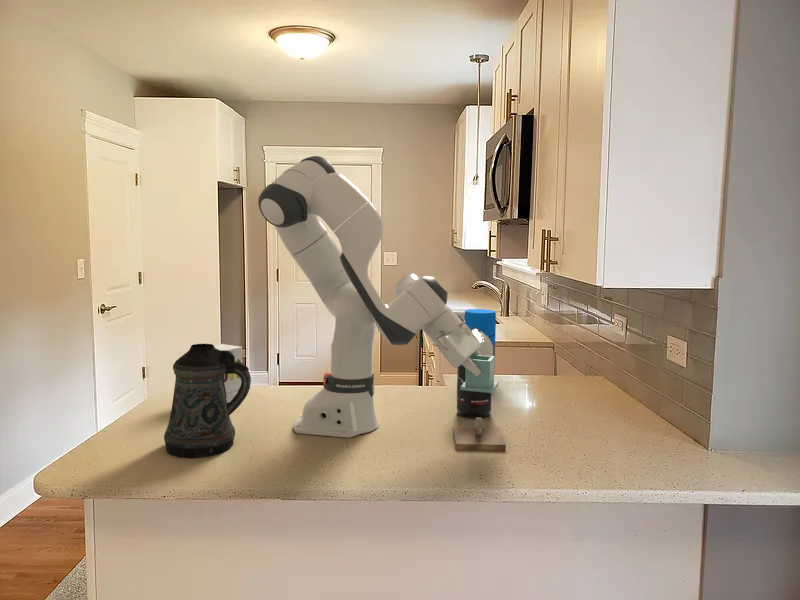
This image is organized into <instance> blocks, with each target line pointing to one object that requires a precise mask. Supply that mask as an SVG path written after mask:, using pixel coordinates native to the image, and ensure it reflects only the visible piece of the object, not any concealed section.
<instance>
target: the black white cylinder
mask: <svg viewBox="0 0 800 600" xmlns="http://www.w3.org/2000/svg"><path fill="white" fill-rule="evenodd" d="M471 331H472V332H473V333H474V334H475V336H476V337H477V338H478V339H479V341H480V343H481V347H479V348H478V349H477V350H478V351H479V352H480V353H481V355H483V356H493V345H492V343H491V341H490V339H489V338H488V337H487V336H486V335H485V334H484V333H483V332H481V331H480V330H479V329H477V328H474V329H472V330H471ZM456 369H457V372H456V373H457V376H456V377H457V378H456V411H457V413H458V414H459V415H460V416H463V417H466V418H471V419H476V418H477V417H479V418H485V417H487V416H489V415H490V414H491V412H492V394H493V393H487V392H476V391H466V390H460V386H461V385H462V384H463V383H464V382H465V371H466V368H465V367H464V366H463V365H462V364H461V365H460V366H459V367H458V368H456Z"/></svg>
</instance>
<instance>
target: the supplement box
mask: <svg viewBox="0 0 800 600" xmlns="http://www.w3.org/2000/svg"><path fill="white" fill-rule="evenodd" d="M214 347H215V348H216V349H218V350H228V351H231V353H232V354H233V355H234V356H235V362H237V361H239V362H241V363H243V362H244V361H243V346H241V345H240V346H239V345H232V344H225V343H219V344H214ZM243 364H244V363H243ZM241 382H242V381H241V378H240V377H239V376H238V375H237V374H234V373H233V374H225V373H224V384H225V389H226V397H227V398H226V400H227V403H229V402H230V401H231V400H232V399H233V398H234V397H235V395H236V394H237V393H238V391H239V388H240V386H241Z"/></svg>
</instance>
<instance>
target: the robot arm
mask: <svg viewBox="0 0 800 600" xmlns="http://www.w3.org/2000/svg"><path fill="white" fill-rule="evenodd" d="M257 201H258V202H257V203H258V208H259V212H260V213H261V215H262V216H263V218H264V219H265V221H267V222H268V223H269V224H271V225H273V226H274V227H275V229H276V232H277V234H278V236H279V238H280V240H281V241H282V243H283V244H284V246H285V248H286V250H287V251H288V253H289V254H290V255H291V257H292V258H293V260H294V261H295V263H297V265H298V266H299V268H300V269H301V271H302V272H303V274H304V275H305V276H306V277H307V279H308V280H309V282H310V283H311V285H312V287H313V289H314V290H315V292H316V294H317V295H318V297H319V298H320V300H321V302H322V303H323V304H324V306H325V308H326V309H327V310H328V312H329V313H330V315H332V316H333V317H334V318H335V327H334V331H333V338H332V342H331V344H330V372H329V371H328V372H325V373H324V375H323V380H322V381H323V382H322V383H323V384H322V385H323V388H322V389H321V390H320V391H318V392H317V393H316V394H314V395H313V396H311V397H310V398H308V400H307V401H306V403H305V404H304V407H303V410H302V415H300V416H298V418H296V420H295V421H294V422H293V431H294V432H295V433H297V434H303V435H313V436H314V435H315V436H327V437H337V438H347V439H348V438H353V437H356V436H358V435H360V434H366V433H369V432H373V431H374V430H376V429H377V428H378V427H379V422H378V419H377V415H376V414H377V413H376V410H375V401H374V395H375V384H376V382H375V374H374V373H373V357H374V356H373V355H374V354H373V353H374V352H373V351H374V350H373V349H374V339H375V334H376V331H378V332H379V334H380V335H381V337H383V339H384V340H385V341H386V342H388V343H389V344H390V345H392V346H405V345H408V344H409V343H410V342H411V341H412V339H414V337H416V335H417V334H418V332H420V331H421V330H422V331H423V333H424V334H425V335H426V336H427V337H428V338H429V339H430V341H432V342H433V344H434V345H435V346H436V347H437V349H438V351H439V352H440V353H441V354H442V356H443V357H444V358H445V360H446V361H447V362H448V363H449V364H450V365H451V367H453V368H455V369H457V368H458V367H459V366H460V365H461V364H462V365H463V366H464V367H465V368H467V369H468V370H470V371H471V372H472V373H473V374H474V375H475V376H478V375H479V374H480V373H481V372H482V370H481V369H480V368H479V366H476V365H475V364H474V363H473V362H472V360H471V359H470V358H469V357H470V356H471V355H481V353H480V352H479V351H478V350H477V349H478V348H479V347H481V343H480V341H479V339H478V338H477V337H476V336H475V334H474V333H473V332H472V331H471V329H470V328H469V327H468V326H467V325H466V324H464V323H465V320H464V318H463V316H461V315H458V314H456V313H455V312H454V311H453V310H452V309H451V307H449V306H447V302H448V296H449V295H448V294H449V293H448V291H446V289H445V288H443V287H442V286H441V284H440V283H439V282H438V281H437V280H436V278H435V277H434V276H430V275H429V276H428V275H425V276H420V277H419V276H418V275H417V274H415V273H410V274H408V275H406V276H404V277H402V279H400V280H399V281H398V283H397V284H396V285H395V287H394V289H393V295H394V297H395V298H394V299H393V300H392V301H390V302H389V303H385V302H384V301H383V299H382V298H381V296H380V295H379V293H378V291H377V289H376V288H375V287H374V285H373V282H372V281H371V280H370V278H369V265H370V262H371V260H372V257H373V256H374V254H375V252H376V250H377V248H378V246H379V244H380V242H381V240H382V237H383V232H384V222H383V218H382V217H381V215H380V213H379V212H378V210H377V208H376V207H375V206H374V205H373V204H372V202H371V201H369V199H368V197H367V196H366V195H365V194H363V192H362V191H361V190H360V189H359V188H358V187H357V186H356V185H355V184H353V183H352V182H351V180H350V179H348V178H346V177H345V176H344V175H343V174H340V172H336V169H335V168H334V166H333V165H332V163H331V162H330V161H329V160H327V158H325V157H322V156H319V155H312V156H308V157H306V158H304V159H301V160H300V161H299V162H297V163H296V164H293V166H291V167H289V168H287V169H286V170H285V171H283V172H282V174H281V175H279V176H278V177H277V178H276V179H275V180H274V181H272V182H271V183H270V184H268V185H267V186H266V187H265V188H264V189H263V190H262V191H261V193H260V195H259V196H258V200H257ZM320 218H321V219H322V221H324V222H325V224H326V225H327V226H328V227H329V228H330V230H331V231H332V232H333V234H334V235H335V237H337V239H338V242H339V245H340V246H341V249H340V247H339V246H338V244H337V242H336V241H335V240H334V238H333V237H332V235H331V234H330V233H329V231H328V229H326V227H325V225H324V224H323V223H322V222H321V220H320ZM376 328H377V329H376Z"/></svg>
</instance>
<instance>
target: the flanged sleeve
mask: <svg viewBox="0 0 800 600" xmlns="http://www.w3.org/2000/svg"><path fill="white" fill-rule="evenodd" d="M469 358H470V359H471V360H472V362H473V363H474V364H475V365H476V366H479V368H480V369H481V370H482V372H481V373H480V374H479V375H478V376H475V375H474V374H473V373H472V372H471V371H470V370H468V369H467V368H466V371H465V382H464V383H463V384H462V385H461V386H460V390H466V391H476V392H487V393H492V394H493V393H494V392H495V390H496V389H497V388H498V386H499V381H495V368H494V359H495V360H496V355H495V356H483V355H471V356H470V357H469Z"/></svg>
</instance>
